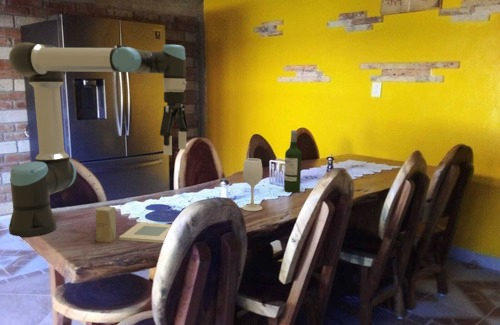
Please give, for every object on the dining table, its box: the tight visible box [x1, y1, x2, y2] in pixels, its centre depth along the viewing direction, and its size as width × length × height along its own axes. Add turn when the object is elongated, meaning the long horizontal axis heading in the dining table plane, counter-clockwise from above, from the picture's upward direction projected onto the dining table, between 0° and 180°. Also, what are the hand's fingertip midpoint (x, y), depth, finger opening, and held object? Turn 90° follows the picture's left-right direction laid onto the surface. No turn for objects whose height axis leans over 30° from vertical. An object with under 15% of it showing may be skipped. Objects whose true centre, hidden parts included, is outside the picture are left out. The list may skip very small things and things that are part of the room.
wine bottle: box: [283, 130, 302, 194], centre depth 214 cm, size 8×8×30 cm
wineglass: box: [241, 157, 263, 212], centre depth 184 cm, size 9×9×21 cm
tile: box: [118, 222, 172, 244], centre depth 153 cm, size 16×16×1 cm
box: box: [95, 205, 117, 243], centre depth 145 cm, size 5×4×11 cm
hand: (175, 152), depth 155 cm, fingers open, 13 cm apart
